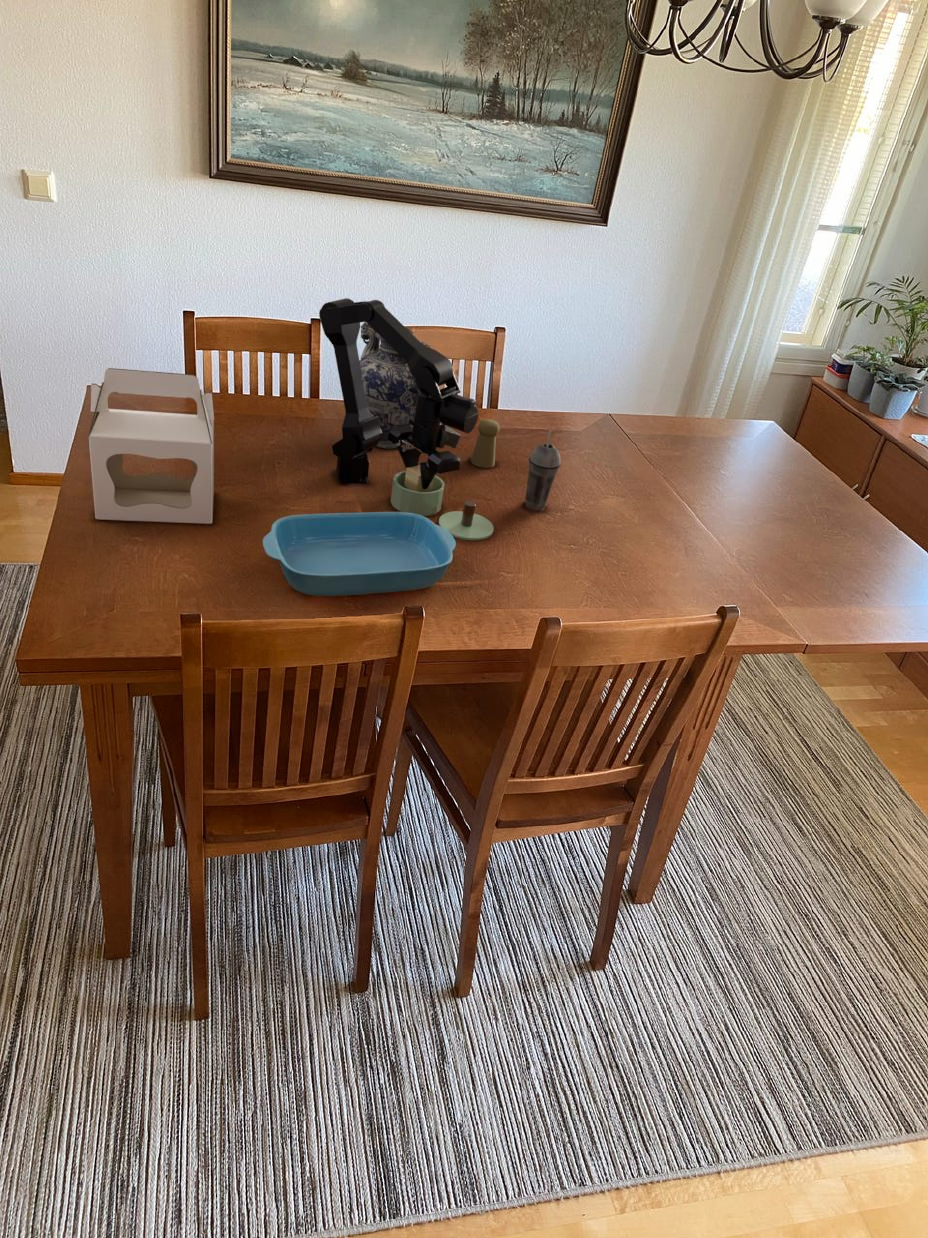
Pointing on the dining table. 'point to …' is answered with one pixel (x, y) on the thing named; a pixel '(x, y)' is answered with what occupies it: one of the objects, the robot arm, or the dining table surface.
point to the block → (415, 480)
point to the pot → (416, 497)
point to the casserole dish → (359, 552)
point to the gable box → (151, 450)
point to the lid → (466, 523)
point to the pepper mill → (485, 444)
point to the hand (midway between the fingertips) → (418, 484)
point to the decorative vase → (386, 384)
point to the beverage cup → (541, 474)
